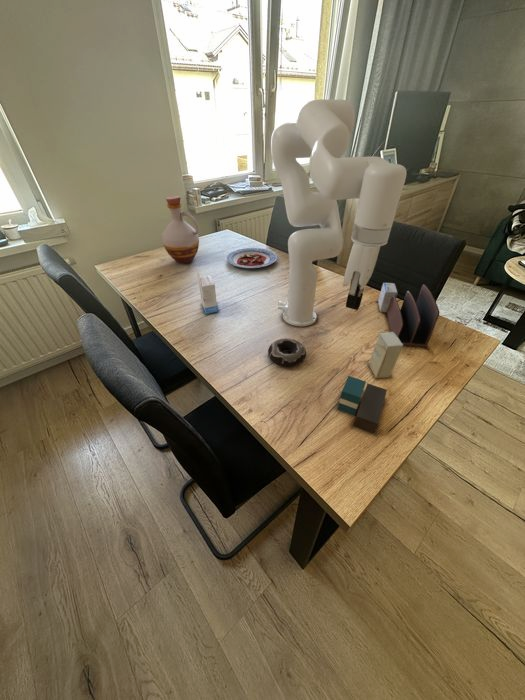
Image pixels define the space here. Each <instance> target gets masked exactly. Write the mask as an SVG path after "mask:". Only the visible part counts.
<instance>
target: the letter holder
mask: <svg viewBox="0 0 525 700" xmlns="http://www.w3.org/2000/svg"><path fill="white" fill-rule="evenodd" d="M386 316H387V321H388V324H389V329H390V332H394V333H395V334H396V336H397V337H398V338H399V340H400V341H401V343H402V344H403V346H409V347H419V348H426V347H428V344H429V342H430V339H431V337H432V334H433V332H434V330H435V327H436V324H437V322H438V319H439V316H440V309H439V307H438V304H437V301H436V300H435V297H434V295H433V293H432V292H431V291H430V289H429V288H428V286H427V285H426V284H422V285H421V287H420V291H419V294H418V296H417V300H415V298H414V296H413V294H412V292H411V291H410V290H407V291H406V293H405V295H404V298H403V302H402V305H401V307H400V304H399V302H398V300H397V297H396V298H395V297H394V296H392V298H391V301H390V304H389V307H388V309H387V312H386Z"/></svg>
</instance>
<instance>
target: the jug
mask: <svg viewBox="0 0 525 700" xmlns="http://www.w3.org/2000/svg"><path fill="white" fill-rule="evenodd" d="M181 199H182V198H181V195H172V196H168V197H167V196H166V198H165V201H166V203H167V204H166V206H167V208H168V210H169V213H170V216H171V220H170V222H169V223H168V225H167V226H166V227H165V229H164V231H163V232H162V235H161V241H162V245H163V247H164V250H165V251H166V252H167V254H168V256H170V257H171V258H172V259H173V260H174V261H175V262H177V263H178V264H189V263H191V262H192V261H193V260H194V258H195V257H196V255H197V253H198V251H199V246H200V237H199V233H200V226H199V222H198V221H197V220H196V218H195V217H194V216H193V215H192V214H190V213H189V212H186V211H183V212H182V206H183V205H182V203H181ZM185 216H186V217H188V218H189V219H190V220H191V221H192V222H193V224H194V225H195V228H194V227H193V226H191V225H190V224H189V223H188V222H187V221H185V220H184V218H183V217H185Z"/></svg>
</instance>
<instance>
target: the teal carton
mask: <svg viewBox="0 0 525 700" xmlns="http://www.w3.org/2000/svg"><path fill="white" fill-rule="evenodd" d="M366 384H367V381H366V380H363V379H360V378H357V377H354V376H351V375H348V376H347V378H346V380H345V383H344V385H343V388H342V390H341V393H340V396H339V397H340V398H339V401H338V404H337V410H338V411H341V412H343V413H346V414H349V415H351V416H355V417H356V414H357V412H358V409H359V406H360V403H361V400H362V397H363V394H364V391H365V387H366Z"/></svg>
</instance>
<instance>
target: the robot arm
mask: <svg viewBox="0 0 525 700" xmlns="http://www.w3.org/2000/svg"><path fill="white" fill-rule="evenodd" d="M355 113H356V112H355V110H354V106H353V105H352V104H351V102H349V101H348V100H346V99H327V98H326V99H323V98H322V99H321V98H320V99H319V98H318V99H311V100H309V101H307V102H305V103H304V104H303V105H302V106H301V107H300V108H299V110H298V112H297V115H296V120H295V121H290V122H284V123H281V124H279V125H277V126H276V127H275V128H274V130H273V132H272V134H271V138H270V153H271V160H272V163H273V167H274V170H275V172H276V174H277V176H278V178H279V181H280V184H281V189H282V195H283V200H284V207H285V212H286V216H287V221H288V223H289V225H290V226H292V227H295V228H300V227H301V228H305V227H313V226H319V227H313V228H306V229H300V230H295V232H293V233H291V234H290V236H289V237H288V239H287V251H288V263H289V264H288V265H289V268H288V269H289V271H288V288H287V290H288V291H287V301H286V302H284V301H282V300H278V302H277V306H278V307H277V309H278V310H281V311H283V312H282V319H283V321H284V322H285V323H287V324H288V325H291V326H293V327H308V326H311V325H313V324H314V323H315V322H316V321H317V319H318V316H317V313H316V311H315V310H314V308H315V299H316V293H317V292H316V291H317V284H318V271H317V269H316V267H315V266H314V264H313V262H315V261H319V260H320V261H321V260H326V259H333V258H336V257H338V256H339V255H340V254H341V253H342V251H343V247H344V236H343V229H342V222H341V218H340V217H341V216H340V209H339V204H338V201H341V200H342V201H344V200H355V199H356V200H357V199H358V200H357V201H358V202H357V207H356V212H355V216H354V222H353V227H352V231H351V236H350V240H351V241H352V242H353V243H352V247H351V250H350V253H349V257H348V261H347V264H346V268H345V272H344V276H343V279H342V286H343V287H347V286H348V285H349V284H350V285H349V290H348V293H347V297H346V302H345V307H346V308H348V309H351V310H355V311H358V310H359V309H360V307H361V303H362V299H363V296H364V290H365V287H366V286H367V285H368V283H369V281H370V280H371V277H372V275H373V273H374V270H375V267H376V265H377V261H378V256H379V253H380V250H381V247H382V246H383V247H384V246H385V245H387V244H388V241H389V238H390V235H391V231H392V227H393V224H394V220H395V217H396V214H397V210H398V207H399V204H400V200H401V197H402V193H403V190H404V187H405V182H406V179H407V169H406V167H405V166H404V165H402V164H399V163H394V162H388V160H386V159H385V158H383V157H380V156H373V155H371V156H346V157H343V156H344V154H345V153H346V151H347V150H348V147H349V144H350V140H351V134H352V132H353V130H354V128H355V122H356V114H355ZM306 158H308V159H309V174H310V178H311V179H310V178H309V174H308V172H307V171H306V170H305V168H304V166H303V165H301V164H300V163H299V162H298V161H297V159H306ZM310 180H311V181H312V184H313V185H314V187H315V188H316V189H317V191H313V190H312V187H311V182H310Z"/></svg>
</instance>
